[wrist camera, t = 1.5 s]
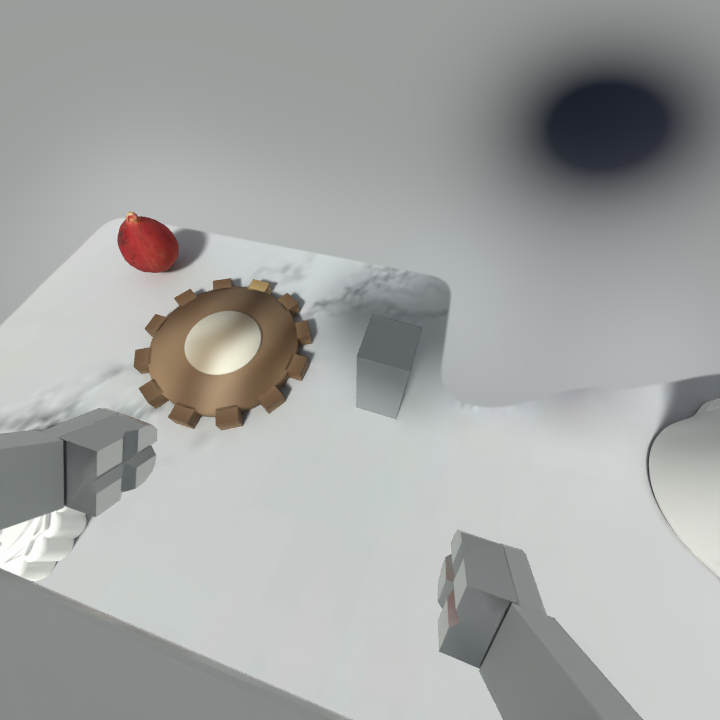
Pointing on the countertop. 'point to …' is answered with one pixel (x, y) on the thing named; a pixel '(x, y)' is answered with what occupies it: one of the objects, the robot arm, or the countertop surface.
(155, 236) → the red fruit
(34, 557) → the mooncake
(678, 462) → the robot arm
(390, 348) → the gray rectangular block
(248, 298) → the sprocket
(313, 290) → the countertop surface
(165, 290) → the countertop surface
